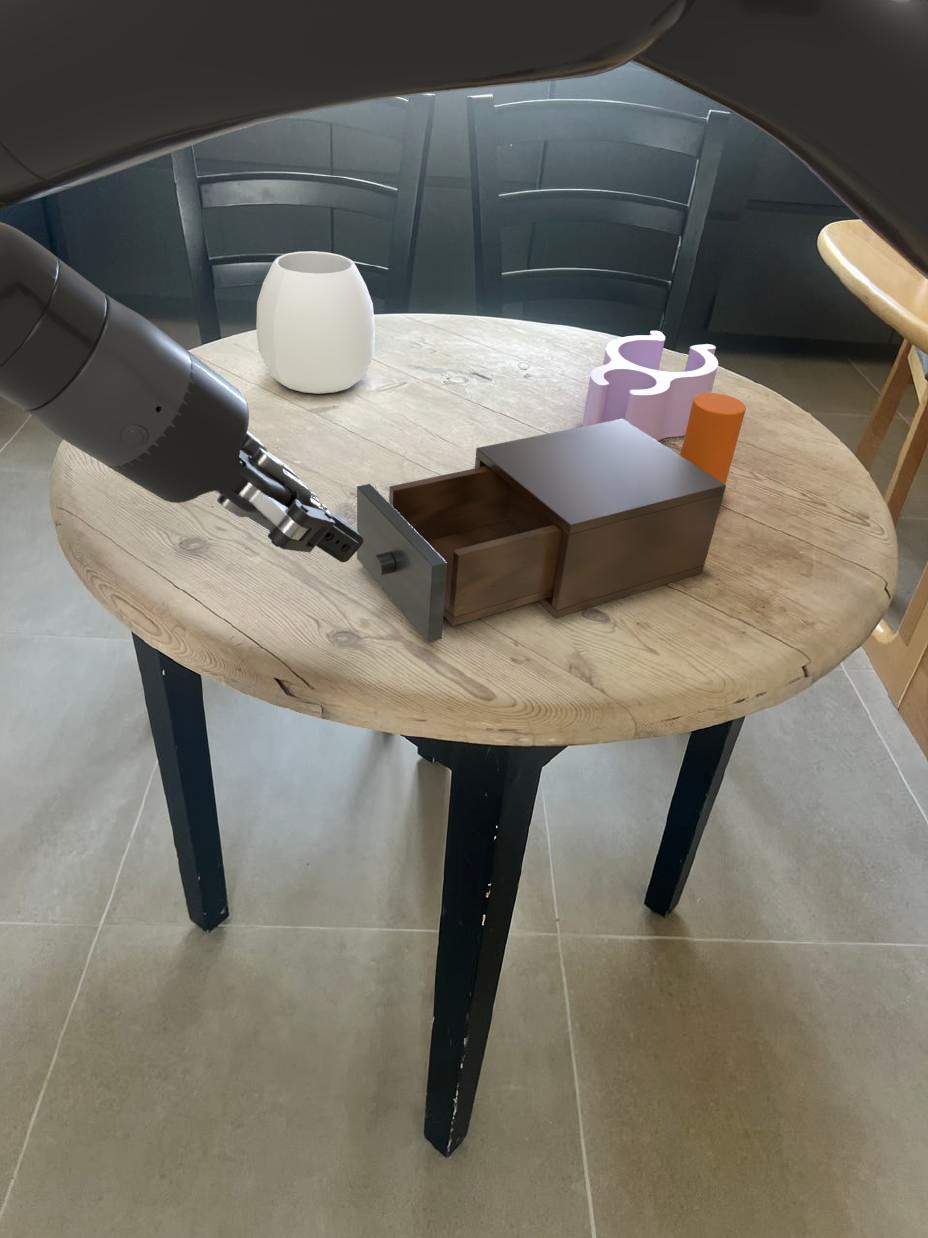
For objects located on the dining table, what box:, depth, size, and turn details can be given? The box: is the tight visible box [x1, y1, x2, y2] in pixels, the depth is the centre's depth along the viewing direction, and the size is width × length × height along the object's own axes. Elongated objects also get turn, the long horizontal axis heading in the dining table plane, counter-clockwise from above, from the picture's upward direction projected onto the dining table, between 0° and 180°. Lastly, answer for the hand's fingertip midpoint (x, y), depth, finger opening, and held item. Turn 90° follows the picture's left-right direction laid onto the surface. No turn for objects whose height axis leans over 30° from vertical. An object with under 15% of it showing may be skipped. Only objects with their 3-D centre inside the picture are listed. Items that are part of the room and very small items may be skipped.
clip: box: [581, 330, 719, 442], centre depth 101 cm, size 20×12×7 cm, turn 149°
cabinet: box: [474, 419, 727, 619], centre depth 77 cm, size 16×14×9 cm
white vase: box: [255, 250, 376, 394], centre depth 102 cm, size 13×13×14 cm
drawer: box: [356, 466, 564, 643], centre depth 72 cm, size 16×12×7 cm
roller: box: [679, 392, 747, 485], centre depth 86 cm, size 5×5×10 cm
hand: (350, 546), depth 61 cm, fingers closed
